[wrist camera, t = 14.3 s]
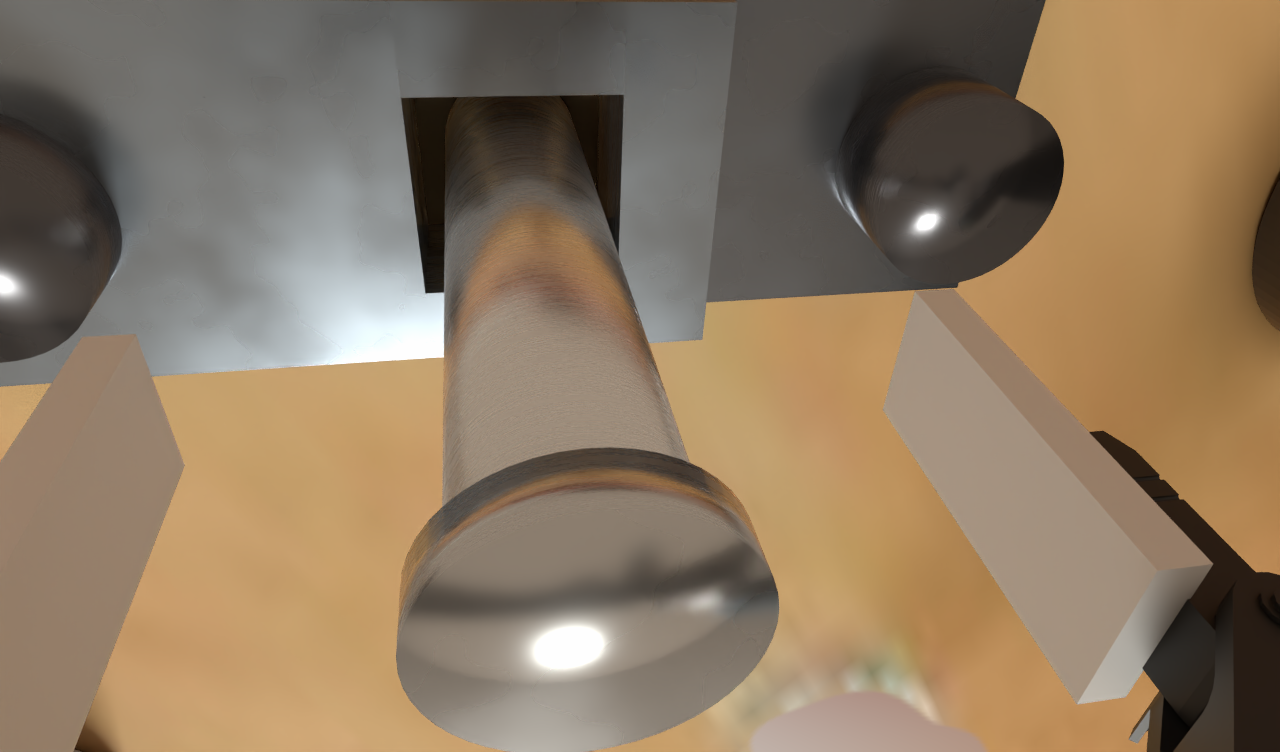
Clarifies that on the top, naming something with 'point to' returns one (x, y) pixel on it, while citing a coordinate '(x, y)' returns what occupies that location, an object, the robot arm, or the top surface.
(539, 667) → the steel pin
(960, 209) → the plate with dome knobs
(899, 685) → the top surface
